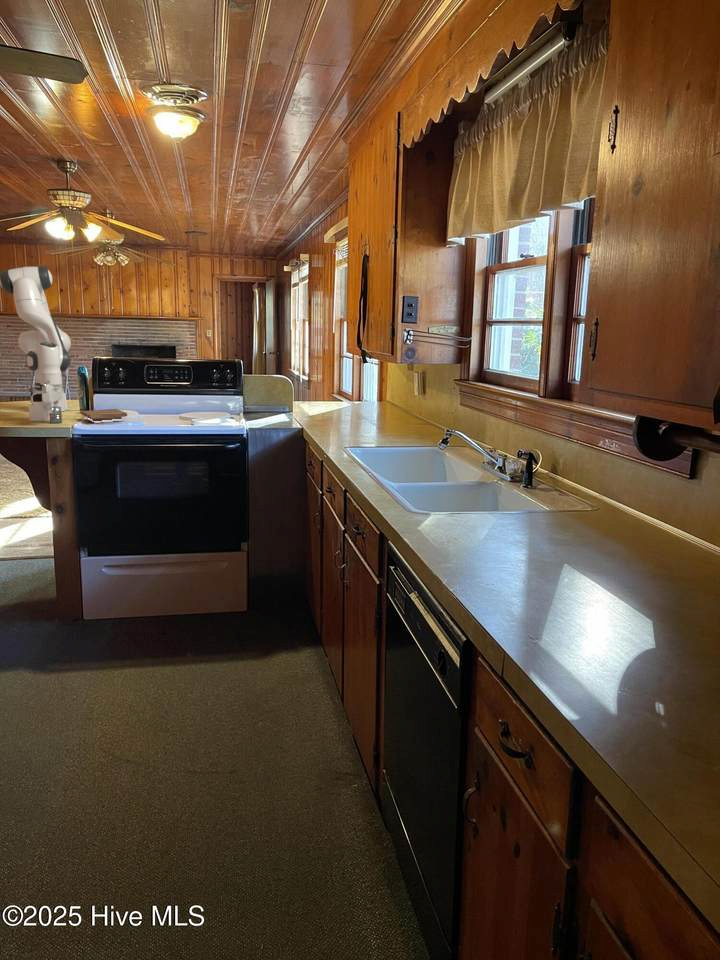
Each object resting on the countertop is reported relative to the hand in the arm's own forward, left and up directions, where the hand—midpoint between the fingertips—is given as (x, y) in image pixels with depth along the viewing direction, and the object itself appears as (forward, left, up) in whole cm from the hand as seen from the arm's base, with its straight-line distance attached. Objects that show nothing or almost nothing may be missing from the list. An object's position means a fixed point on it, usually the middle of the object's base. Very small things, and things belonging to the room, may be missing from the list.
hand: (53, 411), depth 312 cm
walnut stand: (+4, +21, -5) cm, 22 cm away
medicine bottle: (-11, -3, -5) cm, 13 cm away
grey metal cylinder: (0, +1, -5) cm, 5 cm away
